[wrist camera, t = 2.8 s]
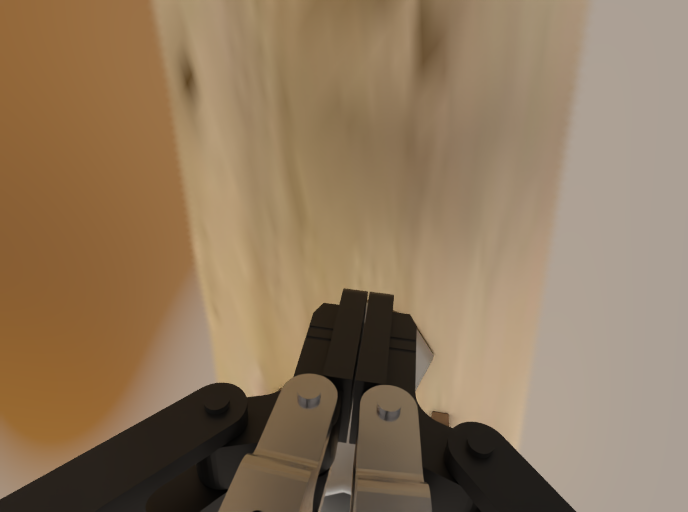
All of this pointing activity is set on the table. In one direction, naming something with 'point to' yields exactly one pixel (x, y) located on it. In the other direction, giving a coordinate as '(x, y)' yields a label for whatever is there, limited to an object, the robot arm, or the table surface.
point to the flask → (341, 475)
